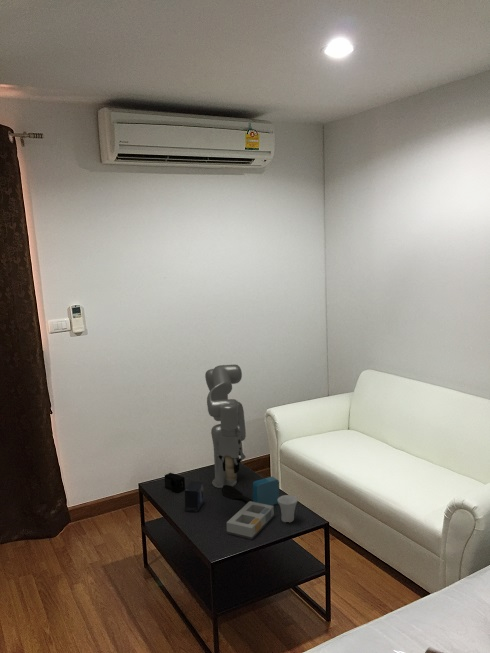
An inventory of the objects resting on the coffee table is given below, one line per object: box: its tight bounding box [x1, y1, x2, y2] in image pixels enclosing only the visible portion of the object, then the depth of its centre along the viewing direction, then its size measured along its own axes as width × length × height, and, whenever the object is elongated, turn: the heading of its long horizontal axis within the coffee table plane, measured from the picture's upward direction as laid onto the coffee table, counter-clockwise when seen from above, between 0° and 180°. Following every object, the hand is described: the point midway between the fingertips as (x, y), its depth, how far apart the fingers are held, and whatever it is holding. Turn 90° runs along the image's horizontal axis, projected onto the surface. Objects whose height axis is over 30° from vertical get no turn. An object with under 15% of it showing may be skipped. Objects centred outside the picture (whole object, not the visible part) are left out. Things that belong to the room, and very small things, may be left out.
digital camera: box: [164, 472, 186, 494], centre depth 271 cm, size 10×5×7 cm, turn 50°
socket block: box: [226, 501, 275, 540], centre depth 233 cm, size 22×12×5 cm, turn 152°
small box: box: [184, 480, 205, 513], centre depth 251 cm, size 11×6×10 cm, turn 168°
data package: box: [252, 476, 280, 506], centre depth 251 cm, size 12×4×12 cm, turn 119°
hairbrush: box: [221, 485, 253, 504], centre depth 259 cm, size 8×4×25 cm
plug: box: [225, 456, 238, 481], centre depth 238 cm, size 5×5×12 cm
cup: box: [277, 494, 299, 523], centre depth 236 cm, size 9×9×10 cm
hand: (231, 470), depth 239 cm, fingers closed on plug, 4 cm apart
